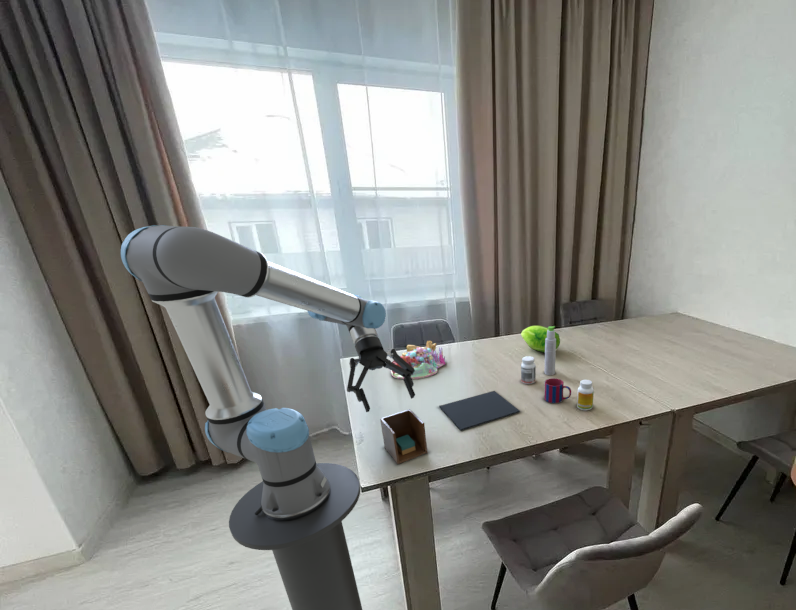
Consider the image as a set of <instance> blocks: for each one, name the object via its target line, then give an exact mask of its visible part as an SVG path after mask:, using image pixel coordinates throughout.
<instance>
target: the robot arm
mask: <svg viewBox="0 0 796 610" xmlns="http://www.w3.org/2000/svg"><path fill="white" fill-rule="evenodd" d="M120 259H121V262H122V264H123V266H124V268H125V269H126V270H127V272H128V273H129V274H130V275H131V276H133V277H134V278H135V279H136V280H138V281H140V282H142V284H143V286H144V288H145V290H146V292H147V294H148V296H149V298H150V300H151V302H153V303H155V304H157V305H159V306H161V307H164V308H165V310H166V313H167V314H168V317H169V319H170V321H171V323H172V325H173V328H174V330H175V332H176V334H177V336H178V339H179V341H180V343H181V345H182V347H183V350H184V352H185V353H186V356H187V358H188V360H189V363H190V365H191V366H192V369H193V371H194V373H195V376H196V378H197V380H198V382H199V384H200V386H201V389H202V391H203V393H204V395H205V397H206V399H207V402H208V404H209V405H208V407H207V408H206V410H205V413H204V414H205V417H206V419H207V420H206V422H205V425H204V431H205V435H206V438H207V440H208V441H209V443H211V444H212V445H213V446H215V447H216V448H217V449H219V450H220V451H223V452H226V453H229V454H232V455H234V456H236V457H239V458H243V459H245V460H247V461H251V462H252V463H255V464H256V465H257V467H258V470H259V473H260V475H261V476H260V477H261V479H262V481H263V492H262V500H261V507H260V508H259V509H258V510H257V511H256V512H255V515H258V514H259V513H260V512H261V511H262V510H263V513H264V515H265V516H266V517H267V518H268V519H270V520H274V521H291V520H295V519H299V518H302V517H304V516H307V515H309V514H311V513H312V512H314V511H316V510H317V509H319V508H320V507H321V506H322V505H323V504H324V503H325V502H326V501H327V500H328V498H329V496H330V493H331V487H330V483H329V480H328V479H327V478H326V476H325V475H324V474H323V473H322V471H321V470H320V469H319V467H318V466H317V464H316V463H317V461H316V457H315V456H316V455H315V452H314V448H313V444H312V440H311V436H310V429H309V426H308V424H307V422H306V419H305V417H304V416H303V414H302V413H301V412H299V411H298V410H295V409H293V408H288V407H281V408H278V407H275V408H269V409H267V407H266V405H265V402H264V400H263V397H262V395H261V394H260V393H257V392H254V391H252V389H251V386H250V384H249V382H248V379H247V376H246V374H245V371H244V369H243V366H242V364H241V360H240V358H239V356H238V354H237V351H236V349H235V345H234V344H233V341H232V338H231V336H230V333H229V331H228V328H227V326H226V323H225V320H224V318H223V315H222V314H221V310H220V308H219V306H218V303H217V300H216V296H217V294H218V293H219V292H220V293H224V294H225V293H227V294H233V295H237V296H240V297H243V298H253V297H255V296H257V297H260V298H264V299H267V300H270V301H274V302H277V303H280V304H284V305H287V306H291V307H293V308H297V309H301V310H304V311H307V314H308V315H309V317H310V318H312V319H314V320H318V321H320V322H321V321H324V322H328V323H333V324H339V325H344V326H346V327H347V331H348V332H349V335H350V338H351V341H352V343H353V345H354V348H355V351H356V353H357V357H358V358H354V357H351V358H349V362H348V363H349V368H350V369H349V376H348V381H347V387H346V392H347V393H352V392H353V393H354V394H355V397H356V399H357V402H359V403H360V402H362V405H363V407H364V410H365V412H366V413H369V412H370V410H371V407H370V404H369V402H368V399H367V397H366V394H365V391H364V388H363V387H361V386H362V384H363V382H364V380H365V378H366V376H367V374H368V371H375V370H377V369H382V368H385V369H388V370H390V371H391V370H392V371H394V372H395V373H397V374H399V375H401V376H403V377H404V379H403V383H404V385H405V387H406V390H407V393H408V394H409V395H408V396H409V397H410V399H411V400H412V399H414V398H415V396H416V393H415V391H414V388H413V387H414V385H415V383H414V381H413V379H412V378H411V375H413V373H414V372H415V369H414V368H412V367H411V366H410V365H409V364H408V363H407V362H406V361H405V360H403V359H402V358H401V357H400V356H401V355H399V354H398V352H397V350H396V349H395V348H392V349H390V350H389V351H385V349H384V347H383V344H382V341H381V339H380V337H379V334H378V332H377V330H376V329H379V328H381V327H382V326H383V325H384V323H385V321H386V317H387V312H386V308H385V306H384V305H383V303H381V302H380V301H376V300H372V299H364V298H363V297H362V296H360V295H358V294H355V293H354V294H352V293H349V292H347V291H344V290H341V289H339V288H336V287H334V286H332V285H329V284H326V283H324V282H322V281H319V280H317V279H314V278H312V277H309V276H306V275H304V274H301V273H299V272H297V271H294V270H291V269H289V268H286V267H284V266H281V265H280V264H276V263H273V262H271V261H269V260H268V259H267V257H266V255H264V253H262V252H260V251H257V250H254V249H253V248H250V247H248V246H246V245H244V244H241V243H239V242H236V241H234V240H232V239H229V238H228V237H225V236H222V235H220V234H218V233H216V232H213V231H210V230H207V229H205V228H201V227H195V226H179V225H178V226H177V225H176V226H175V225H166V224H159V225H158V224H157V225H156V224H153V225H148V226H143V227H142V226H141V227H140V228H136V229H135V230H133V231H131V232H130V233H129V234H127V235H126V237H125V238H124V240H123V241H122V243H121V247H120ZM388 357H389V358H390V359H392V360H393V361H395V362H396V363H397V364H399V365H400V366H401V367H402V368H401V367H399V366H397V365H396V364H394V363H392V362H393V361H391V360H390V359H389V358H388ZM358 365H361V366H363V369H362V370H361V373H360V374H359V377H358V379H357V381H356V383H355V385H353V384H354V379H355V378H354V377H355V373H356V368H357V367H358Z"/></svg>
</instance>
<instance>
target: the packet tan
mask: <svg viewBox="0 0 796 610" xmlns="http://www.w3.org/2000/svg"><path fill="white" fill-rule="evenodd" d="M397 449H398V450H399V451H400V453H401V454H402V455H404V454H407V453H409V452H412V451H415V450H416V449H415V446H414V447H411V448H408V449H406V450H403V451H402V450H401V449H400V448H399V447H398V445H397Z"/></svg>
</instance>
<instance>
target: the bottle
mask: <svg viewBox="0 0 796 610" xmlns="http://www.w3.org/2000/svg"><path fill="white" fill-rule="evenodd" d="M547 328H548V330H547V338H546V339H545V352H544V374H545V375H547V376H553V375H555V374H556V355H557V349H556V338H555V332H556V331H555V328H556V326H555V325H553V326H552V325H550V326H548V327H547Z"/></svg>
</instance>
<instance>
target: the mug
mask: <svg viewBox="0 0 796 610" xmlns="http://www.w3.org/2000/svg"><path fill="white" fill-rule="evenodd" d="M564 383H565V382H564V380H562V379H560V378H556V377H551V378H547V379H545V380H544V393H543V394H544V398H543V399H544V401H545V402H547V403H549V404H559V403H561V402H563V400H568V399H570V397H571V396H572V389H571V387H570V386H568V385H564ZM564 389H567V390H568V392H569V394H568V396H567V397H564Z"/></svg>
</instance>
